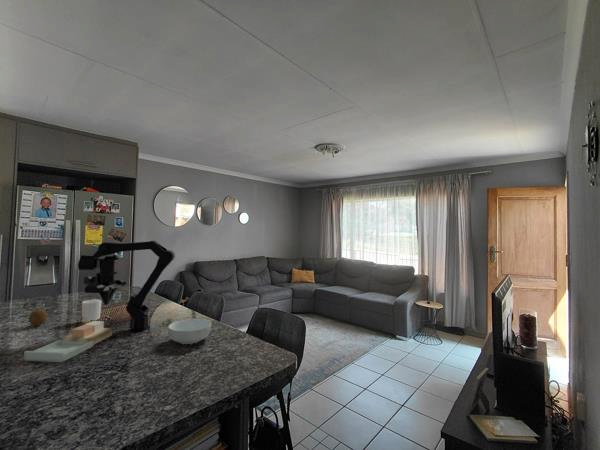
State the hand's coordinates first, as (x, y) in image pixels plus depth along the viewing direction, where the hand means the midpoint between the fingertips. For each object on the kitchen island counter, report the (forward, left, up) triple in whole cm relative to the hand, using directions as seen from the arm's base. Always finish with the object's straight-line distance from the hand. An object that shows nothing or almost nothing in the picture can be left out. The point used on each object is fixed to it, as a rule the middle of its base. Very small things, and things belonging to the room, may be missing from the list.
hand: (106, 304), depth 130 cm
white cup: (+17, -13, -12) cm, 24 cm away
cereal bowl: (-42, +6, -12) cm, 44 cm away
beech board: (0, +10, -12) cm, 15 cm away
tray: (0, +22, -12) cm, 26 cm away
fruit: (+36, -4, -12) cm, 38 cm away
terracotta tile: (0, +12, -9) cm, 15 cm away
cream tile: (0, +7, -9) cm, 11 cm away
